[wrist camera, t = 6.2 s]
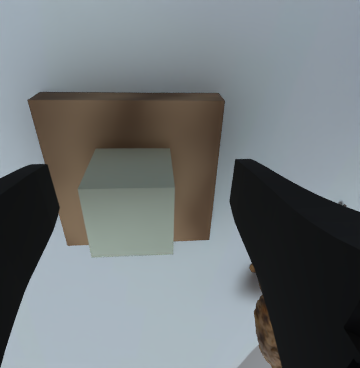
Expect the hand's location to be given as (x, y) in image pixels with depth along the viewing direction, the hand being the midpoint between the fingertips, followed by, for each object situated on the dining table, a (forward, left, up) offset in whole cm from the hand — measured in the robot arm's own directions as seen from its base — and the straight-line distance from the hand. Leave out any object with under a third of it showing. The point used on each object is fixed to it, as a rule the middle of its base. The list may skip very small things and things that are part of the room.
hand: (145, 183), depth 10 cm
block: (+1, +5, -8) cm, 9 cm away
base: (+1, +5, -10) cm, 11 cm away
